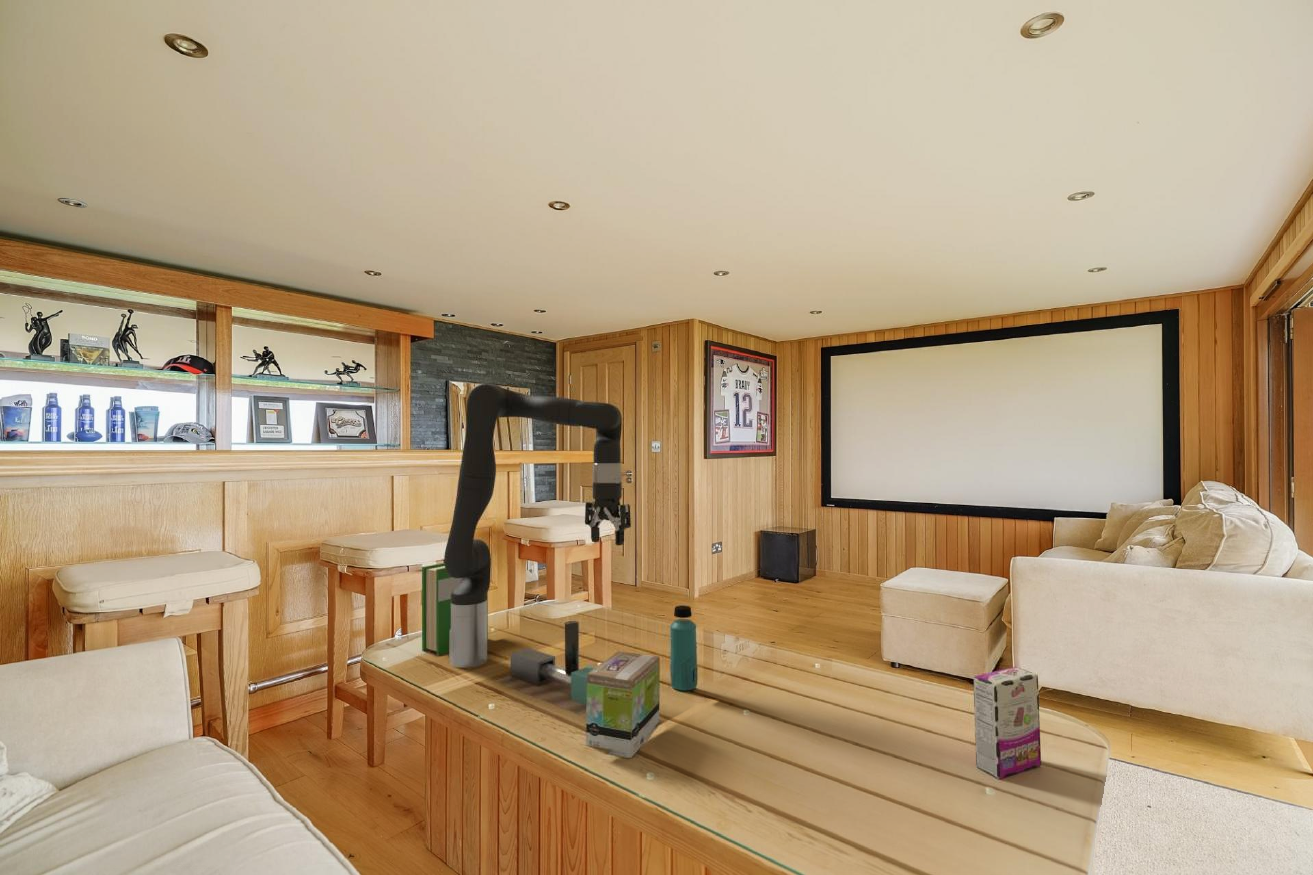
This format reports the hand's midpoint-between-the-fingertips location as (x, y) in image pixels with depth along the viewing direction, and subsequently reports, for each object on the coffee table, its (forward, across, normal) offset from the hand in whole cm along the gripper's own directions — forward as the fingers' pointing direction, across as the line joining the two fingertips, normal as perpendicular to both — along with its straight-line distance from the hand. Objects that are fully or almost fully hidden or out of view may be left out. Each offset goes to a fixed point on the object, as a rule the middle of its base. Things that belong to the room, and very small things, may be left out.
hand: (607, 543), depth 160 cm
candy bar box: (+33, +89, +11) cm, 96 cm away
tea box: (+33, +28, -24) cm, 50 cm away
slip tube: (+30, +3, -17) cm, 35 cm away
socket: (+32, +11, -17) cm, 38 cm away
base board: (+33, 0, -17) cm, 37 cm away
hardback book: (+33, -51, -12) cm, 62 cm away
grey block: (+32, -9, -17) cm, 37 cm away
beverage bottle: (+33, +23, +2) cm, 40 cm away
